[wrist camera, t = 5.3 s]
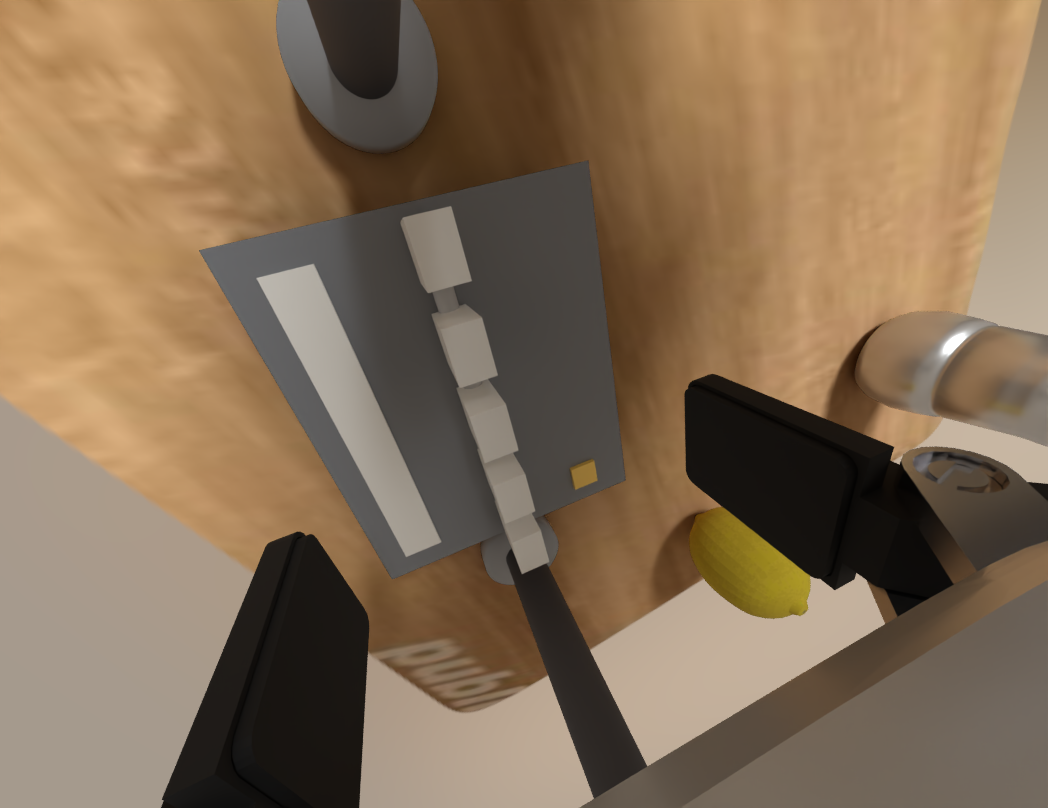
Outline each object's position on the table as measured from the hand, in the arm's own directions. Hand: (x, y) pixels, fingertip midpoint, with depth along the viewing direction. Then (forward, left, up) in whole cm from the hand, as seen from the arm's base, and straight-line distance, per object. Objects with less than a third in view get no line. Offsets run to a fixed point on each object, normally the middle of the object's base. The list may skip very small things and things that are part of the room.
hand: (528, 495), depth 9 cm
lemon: (+16, +13, -10) cm, 23 cm away
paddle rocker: (0, 0, -6) cm, 6 cm away
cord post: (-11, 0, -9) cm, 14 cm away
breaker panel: (0, 0, -9) cm, 9 cm away
